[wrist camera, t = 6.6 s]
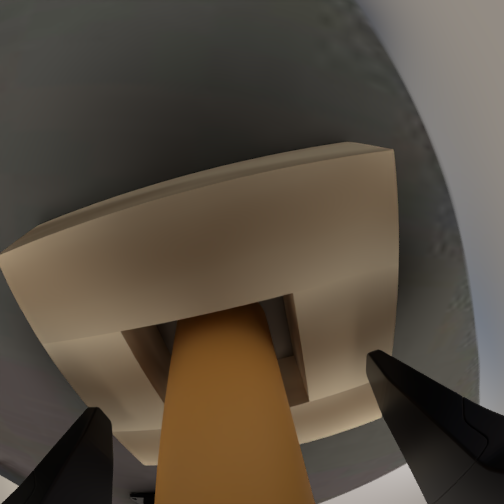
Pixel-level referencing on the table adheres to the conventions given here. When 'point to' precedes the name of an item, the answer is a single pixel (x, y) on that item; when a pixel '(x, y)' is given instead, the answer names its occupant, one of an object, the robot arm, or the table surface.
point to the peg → (228, 417)
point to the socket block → (222, 282)
